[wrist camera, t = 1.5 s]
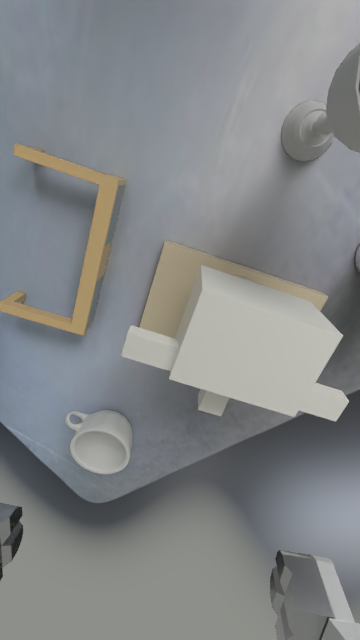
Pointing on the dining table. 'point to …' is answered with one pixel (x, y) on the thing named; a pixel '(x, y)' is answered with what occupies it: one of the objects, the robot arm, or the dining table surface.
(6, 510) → the robot arm
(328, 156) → the dining table surface
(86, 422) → the teacup
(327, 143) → the chalice
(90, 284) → the tan open angular frame
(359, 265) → the beer glass
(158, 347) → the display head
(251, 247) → the dining table surface
